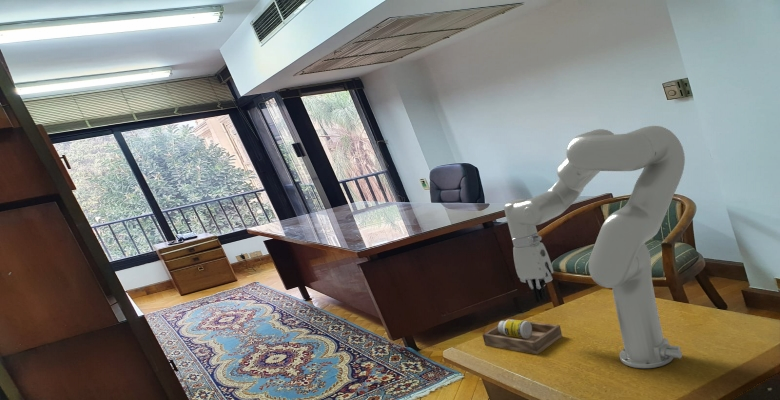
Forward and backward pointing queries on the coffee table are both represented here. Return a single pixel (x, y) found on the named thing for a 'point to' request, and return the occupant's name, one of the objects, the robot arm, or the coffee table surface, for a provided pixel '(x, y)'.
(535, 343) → the tray
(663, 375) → the coffee table surface
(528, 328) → the supplement bottle
